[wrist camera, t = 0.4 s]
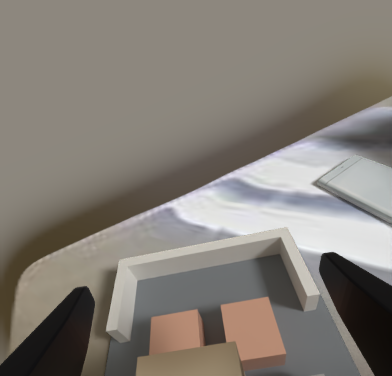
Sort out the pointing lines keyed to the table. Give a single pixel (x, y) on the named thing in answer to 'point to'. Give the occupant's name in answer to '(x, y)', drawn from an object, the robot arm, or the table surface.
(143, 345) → the board
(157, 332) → the pink square block
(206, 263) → the tray
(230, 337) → the chip
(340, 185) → the hard drive
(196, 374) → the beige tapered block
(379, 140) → the table surface
